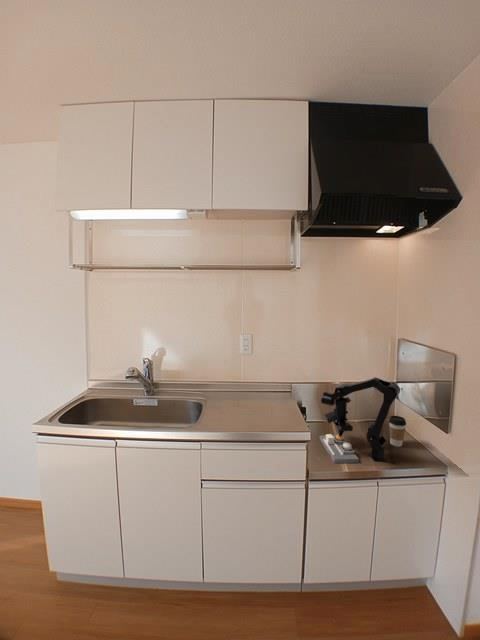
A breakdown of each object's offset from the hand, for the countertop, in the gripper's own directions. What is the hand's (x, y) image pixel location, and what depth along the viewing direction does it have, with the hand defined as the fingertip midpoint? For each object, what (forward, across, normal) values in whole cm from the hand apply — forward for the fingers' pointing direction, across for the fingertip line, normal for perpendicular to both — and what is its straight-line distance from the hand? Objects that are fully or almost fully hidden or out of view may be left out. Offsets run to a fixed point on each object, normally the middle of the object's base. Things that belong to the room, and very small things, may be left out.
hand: (340, 435), depth 164 cm
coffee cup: (+5, 0, +32) cm, 32 cm away
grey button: (+1, +10, 0) cm, 10 cm away
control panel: (+5, +5, -3) cm, 8 cm away
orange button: (+2, 0, 0) cm, 2 cm away
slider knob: (+3, +1, -6) cm, 7 cm away
